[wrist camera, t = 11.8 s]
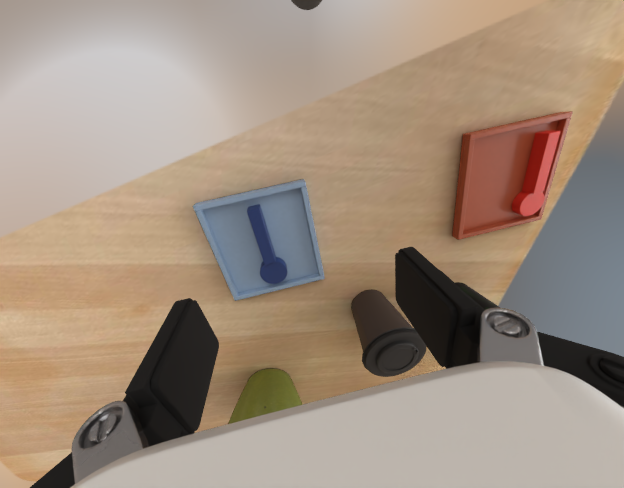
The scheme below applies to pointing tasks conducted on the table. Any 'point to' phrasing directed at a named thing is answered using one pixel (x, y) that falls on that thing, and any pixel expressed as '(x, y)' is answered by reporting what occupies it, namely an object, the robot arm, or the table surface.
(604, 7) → the table surface
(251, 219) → the blue spoon
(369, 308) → the coffee cup
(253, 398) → the flower pot
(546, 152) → the red spoon
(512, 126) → the red tray
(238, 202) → the blue tray
